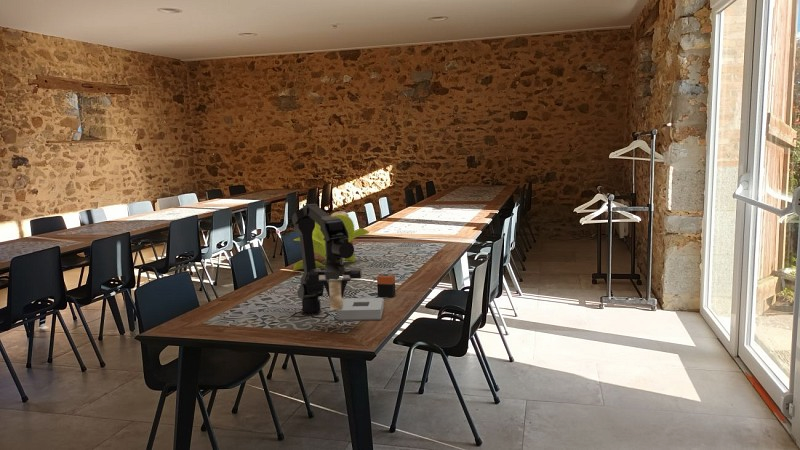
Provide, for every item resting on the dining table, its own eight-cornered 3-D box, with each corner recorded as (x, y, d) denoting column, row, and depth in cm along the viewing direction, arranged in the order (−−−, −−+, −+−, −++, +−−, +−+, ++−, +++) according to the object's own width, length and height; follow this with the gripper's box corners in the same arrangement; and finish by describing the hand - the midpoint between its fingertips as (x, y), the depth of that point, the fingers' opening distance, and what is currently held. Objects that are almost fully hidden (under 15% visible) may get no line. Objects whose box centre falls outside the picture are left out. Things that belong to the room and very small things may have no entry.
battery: (380, 294, 265) (379, 271, 264) (395, 295, 263) (395, 272, 262) (377, 297, 261) (376, 273, 260) (392, 297, 259) (391, 274, 257)
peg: (330, 310, 219) (328, 282, 218) (332, 307, 223) (330, 280, 222) (341, 309, 219) (340, 282, 218) (343, 306, 223) (341, 279, 222)
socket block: (337, 320, 229) (337, 310, 229) (343, 308, 245) (342, 299, 244) (380, 320, 228) (380, 309, 228) (383, 307, 244) (383, 298, 244)
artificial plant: (379, 274, 331) (369, 225, 344) (367, 243, 292) (356, 188, 305) (302, 292, 331) (295, 242, 344) (280, 263, 292) (273, 207, 305)
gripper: (303, 259, 211) (305, 304, 213) (357, 258, 210) (360, 302, 212) (309, 253, 222) (311, 295, 224) (361, 252, 221) (363, 294, 223)
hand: (336, 297), depth 221 cm, fingers closed on peg, 4 cm apart
